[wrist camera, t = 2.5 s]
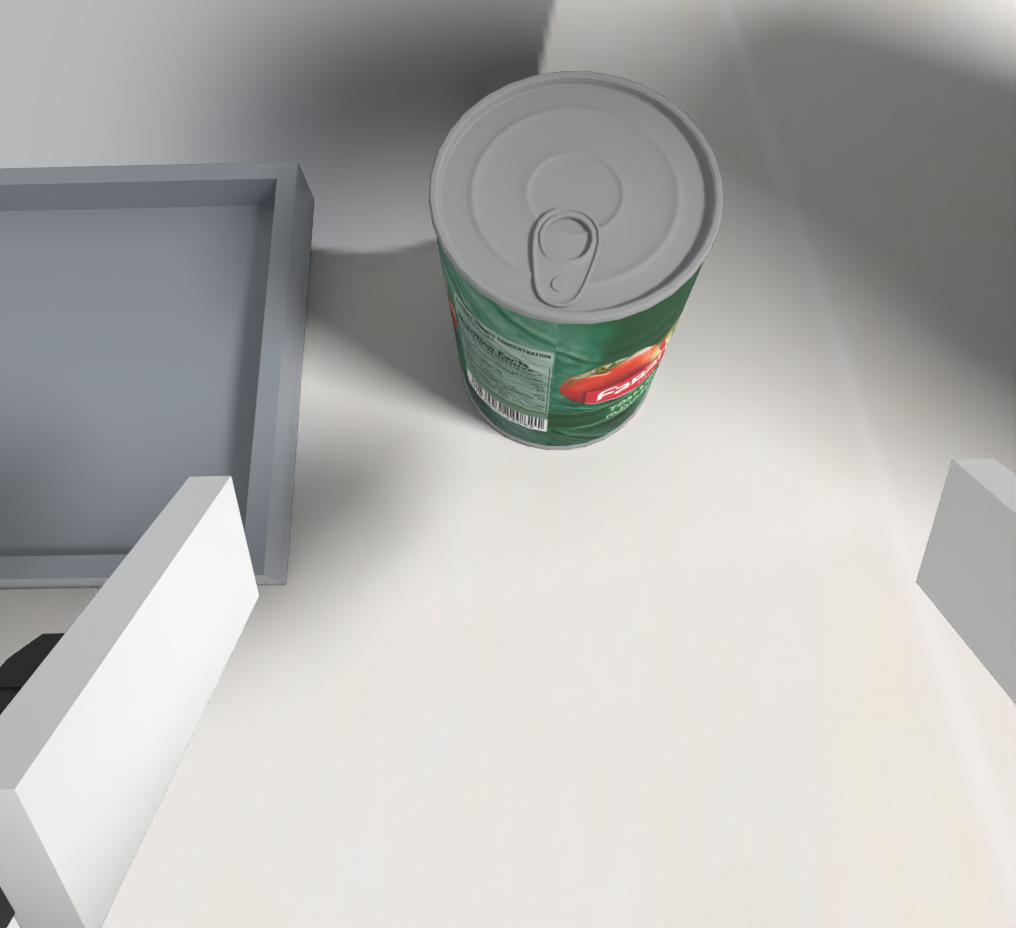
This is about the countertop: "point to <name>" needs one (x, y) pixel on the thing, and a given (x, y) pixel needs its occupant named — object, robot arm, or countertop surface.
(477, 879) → the countertop surface
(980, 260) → the countertop surface
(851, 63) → the countertop surface
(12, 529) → the tray
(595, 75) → the canned tomato
